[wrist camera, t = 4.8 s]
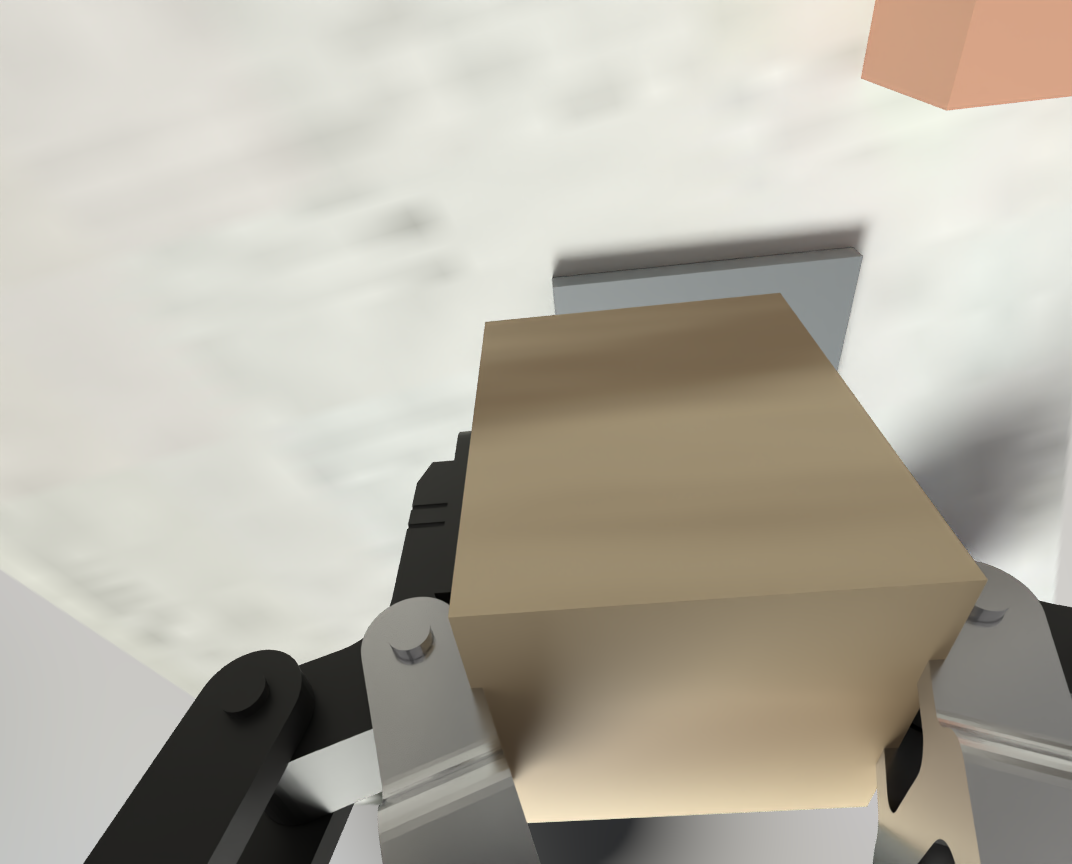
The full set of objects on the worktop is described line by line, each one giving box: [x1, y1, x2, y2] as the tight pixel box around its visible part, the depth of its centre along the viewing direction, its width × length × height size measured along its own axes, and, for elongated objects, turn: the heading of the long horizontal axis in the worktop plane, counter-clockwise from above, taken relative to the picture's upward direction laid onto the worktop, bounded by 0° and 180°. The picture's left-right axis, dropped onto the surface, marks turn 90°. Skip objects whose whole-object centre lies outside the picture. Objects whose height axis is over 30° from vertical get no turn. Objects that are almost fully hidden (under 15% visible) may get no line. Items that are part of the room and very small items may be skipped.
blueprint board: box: [552, 247, 863, 371], centre depth 31 cm, size 16×13×1 cm
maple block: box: [448, 293, 988, 823], centre depth 10 cm, size 5×5×6 cm
